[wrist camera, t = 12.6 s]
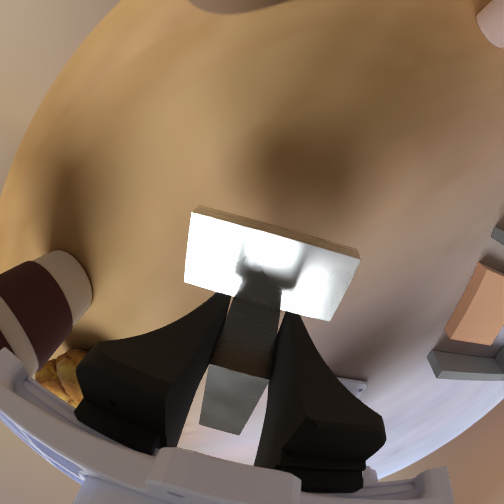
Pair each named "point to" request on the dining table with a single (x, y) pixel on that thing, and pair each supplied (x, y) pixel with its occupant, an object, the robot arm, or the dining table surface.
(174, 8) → the dining table surface
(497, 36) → the smoothie
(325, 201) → the dining table surface
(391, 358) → the dining table surface
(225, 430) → the turner
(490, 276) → the tile
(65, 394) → the bread roll
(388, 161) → the dining table surface
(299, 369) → the robot arm
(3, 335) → the coffee cup
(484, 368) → the frame
